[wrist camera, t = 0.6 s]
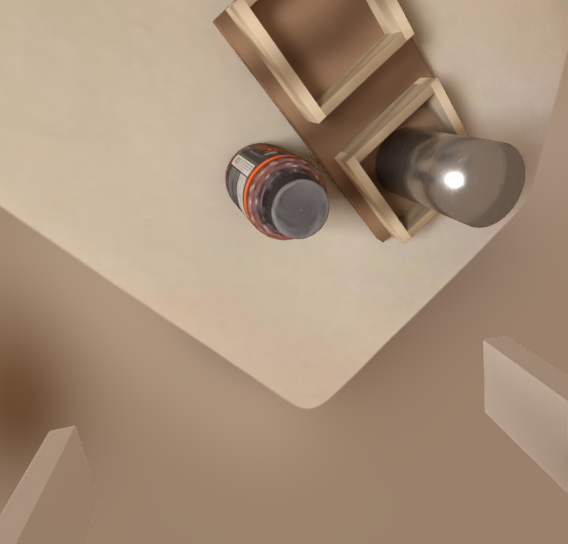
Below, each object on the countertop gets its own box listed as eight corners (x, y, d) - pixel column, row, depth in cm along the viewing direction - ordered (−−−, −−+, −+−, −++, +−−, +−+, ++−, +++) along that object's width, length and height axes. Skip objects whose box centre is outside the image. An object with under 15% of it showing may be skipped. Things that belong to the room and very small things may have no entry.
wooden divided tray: (212, 21, 33) (221, 15, 30) (332, -94, 33) (354, -113, 29) (377, 238, 45) (396, 250, 42) (467, 155, 44) (493, 161, 41)
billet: (363, 159, 40) (439, 184, 30) (413, 112, 40) (505, 123, 30) (396, 206, 43) (474, 243, 33) (443, 163, 42) (536, 187, 33)
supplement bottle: (297, 149, 39) (356, 173, 29) (282, 215, 41) (332, 259, 31) (230, 134, 37) (269, 155, 27) (217, 205, 38) (249, 249, 29)
